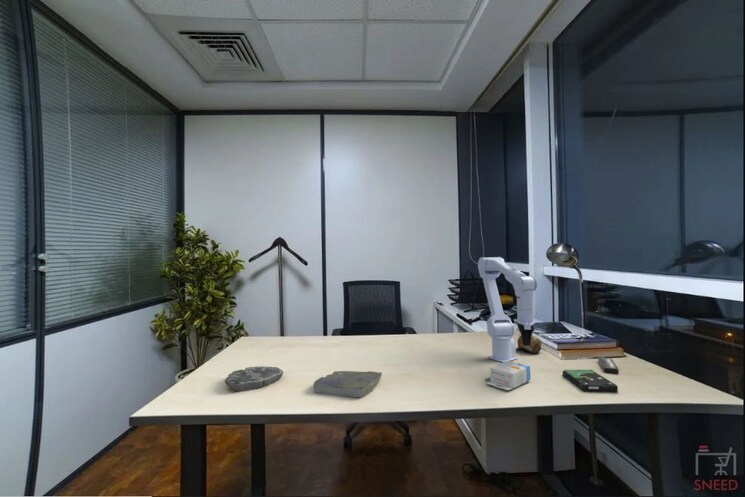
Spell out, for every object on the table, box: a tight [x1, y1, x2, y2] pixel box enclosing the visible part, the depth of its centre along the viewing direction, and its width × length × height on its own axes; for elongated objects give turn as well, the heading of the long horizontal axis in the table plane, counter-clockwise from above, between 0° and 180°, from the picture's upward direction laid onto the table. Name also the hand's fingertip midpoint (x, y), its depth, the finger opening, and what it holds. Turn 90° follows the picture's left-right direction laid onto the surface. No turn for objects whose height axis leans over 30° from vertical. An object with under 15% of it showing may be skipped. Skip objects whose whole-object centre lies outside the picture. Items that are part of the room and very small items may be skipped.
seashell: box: [517, 334, 542, 354], centre depth 149 cm, size 11×9×8 cm
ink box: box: [486, 360, 531, 391], centre depth 112 cm, size 8×5×15 cm
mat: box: [484, 376, 529, 389], centre depth 113 cm, size 10×10×1 cm
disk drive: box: [562, 369, 619, 393], centre depth 111 cm, size 10×3×15 cm
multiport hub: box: [597, 356, 619, 375], centre depth 126 cm, size 4×14×2 cm, turn 153°
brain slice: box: [224, 365, 284, 392], centre depth 116 cm, size 20×17×3 cm
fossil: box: [313, 370, 383, 398], centre depth 111 cm, size 20×5×17 cm
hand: (526, 345), depth 121 cm, fingers closed
